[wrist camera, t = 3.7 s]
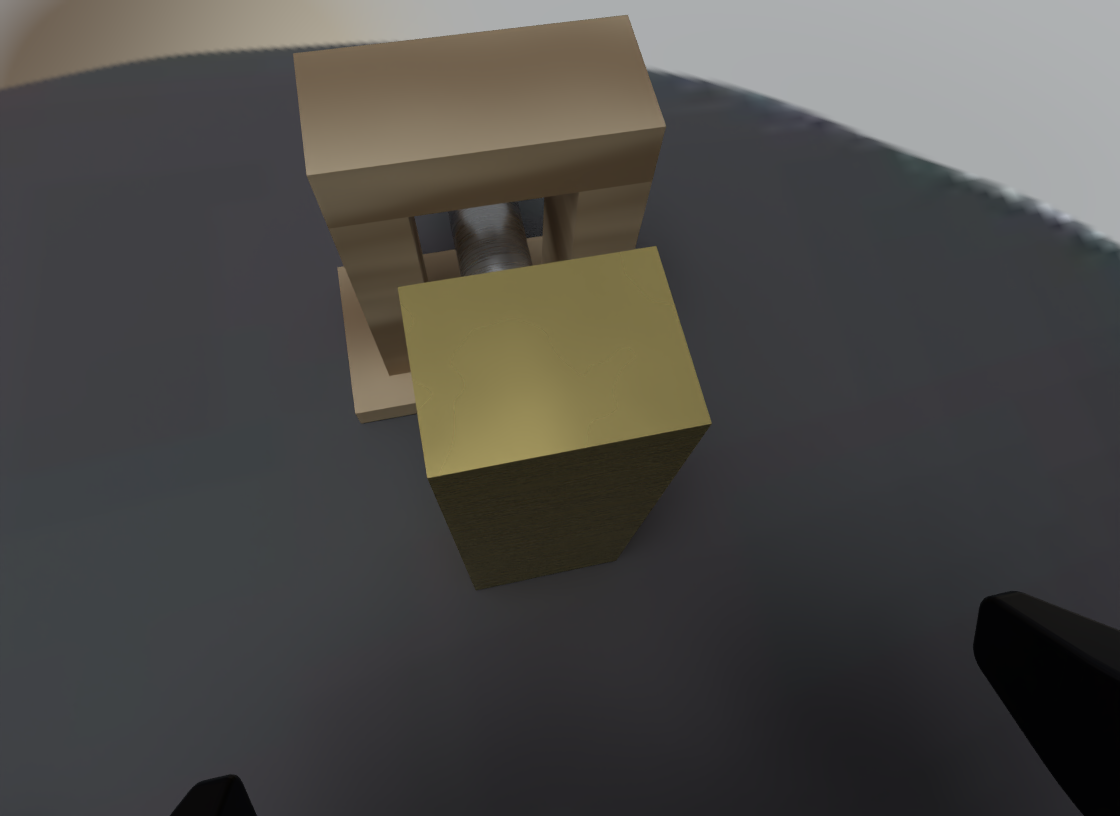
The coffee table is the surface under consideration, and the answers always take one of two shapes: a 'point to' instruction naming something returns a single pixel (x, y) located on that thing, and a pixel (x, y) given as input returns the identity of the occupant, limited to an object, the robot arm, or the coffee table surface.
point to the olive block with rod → (547, 398)
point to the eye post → (469, 161)
